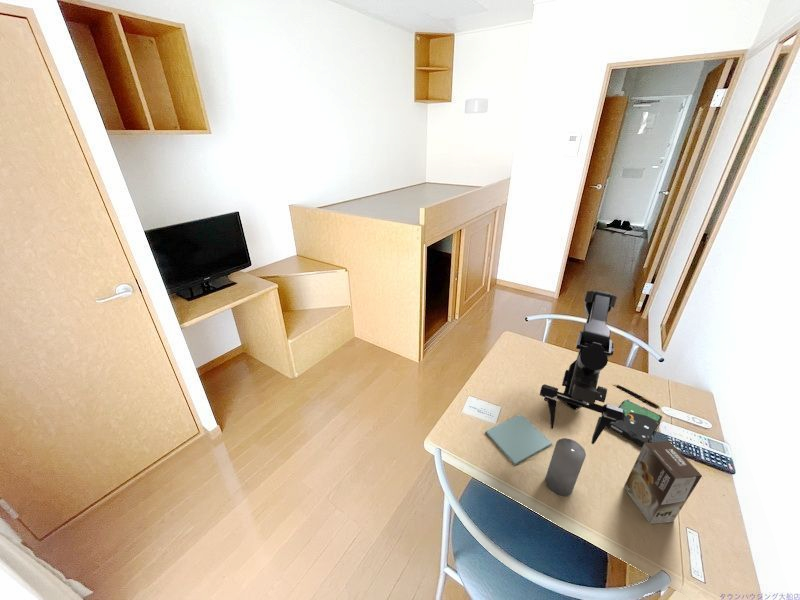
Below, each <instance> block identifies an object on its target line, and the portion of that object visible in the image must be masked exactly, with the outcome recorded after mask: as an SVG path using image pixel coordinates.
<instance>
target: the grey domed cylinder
mask: <svg viewBox="0 0 800 600" xmlns="http://www.w3.org/2000/svg"><path fill="white" fill-rule="evenodd" d="M586 456H587V454H586V450H585V448H584V447H583V446H582V445H581V444H580V443H578V442H577V441H575V440H573V439H571V438H565V437H564V438H560V439H558V440H556V442H555V445H554V448H553V452H552V455H551V459H550V461H549V465H548V467H547V471H546V475H545V479H544V482H545V486H546V487H547V488H548V490H549V491H550V492H552V493H553V494H555V495H556V496H559V497H563V498H565V497H570V496H571V495H572V493H573V491H574V488H575V485H576V483H577V481H578V478H579V475H580V473H581V470H582V467H583V465H584V462H585V460H586Z"/></svg>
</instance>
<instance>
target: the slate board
mask: <svg viewBox="0 0 800 600" xmlns="http://www.w3.org/2000/svg"><path fill="white" fill-rule="evenodd" d="M485 434H486V435H487V436H488V437H489V438H490V439H491V441H492V442H493V443H494V444H495V445H496V446H497V447H498V449H499V450H500V451H501V452H502V454H504V455H505V456H506V457H507V458H508V459H509V460H510V462H511V463H512V464H513V465H514V466H517V465H518V464H520V463H522V462H524V461H526V460H527V459H529V458H532V456H534V455H536V454H538V453H540V452H541V451H543V450H545V449H547V448H549V447H551V446H553V442H552V441H551V440H550V439H549V438H548V437H546V435H545V434H543V433H542V432H541V431H540V430H539V429H538V428H537V427H536V426H535V425H533V423H532V422H530V421H529V420H528V419H527V418H526V417H525V416H524V415H523V414H522V413H520V414H518V415H516V416H513V417H512V418H509V419H508V420H505V421H503V422H500V423H499V424H496V425H494V426H493V427H491V428H488V429H486V430H485Z"/></svg>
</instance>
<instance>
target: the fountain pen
mask: <svg viewBox="0 0 800 600" xmlns="http://www.w3.org/2000/svg"><path fill="white" fill-rule="evenodd" d="M613 385H615V386H616V387H617V388H618V389H620V390H622V391H623V392H626V393H627V394H629V395H632V396H634V397H635V398H638V399H639V400H640V401H643V402H644V403H646V404H649V405H651V406H653V407H655V408H660V406H659V405H658V404H657V403H655V402H653V401H652V400H650V399H648V398H646V397H644V396H642V395H641V394H638V393H637V392H634V391H632V390H630V389H628V388H626V387H624V386H622V385H619V384H616V383H613Z"/></svg>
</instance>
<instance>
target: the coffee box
mask: <svg viewBox="0 0 800 600" xmlns="http://www.w3.org/2000/svg"><path fill="white" fill-rule="evenodd" d="M702 477H703V474H701V473H700V472H699V471H698V470H697V468H696V467H694V466H693V464H692V463H691V462H690V461H689V460H688V459H687V458H686V457H685V456H684V455H683V454H682V453H681V452H680V451H679V450H678V448H676V447H675V445H673V444H672V443H671V441H669V440H658V441H652V442H647V443H644V445H643V447H641V449H640V452H639V454H638V455H637V458H636V460H635V463H634V464H633V466H632V468H631V470H630V473H629V474H628V476H627V479H626V481H625V483H624V485H623V488H624V489H625V491H626V492H627V493H628V495H629V496H630V498H631V499H632V501H633V502H634V504H635V505H636V506H637V508H638V509H639V510H640V512H641V514H642V515H643V516H644V517H645V519H646V521H648V523H649V524H651V525H654V524H664V523H672V522H675V520H676V518H677V516H678V515H679V513H680V512H681V510H682V508H683V507H684V505H685V504H686V502H687V500H688V499H689V497H690V496H691V494H692V493H693V491H694V490H695V488H696V487H697V485H698V483H699V481H700V480H701V479H702Z"/></svg>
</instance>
